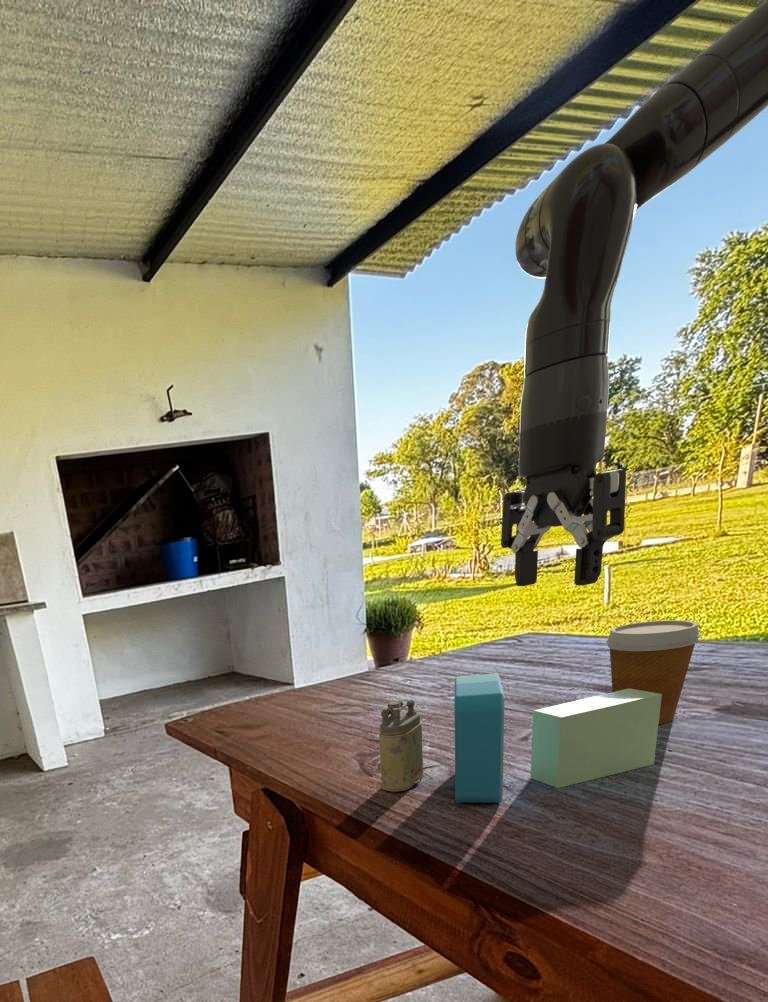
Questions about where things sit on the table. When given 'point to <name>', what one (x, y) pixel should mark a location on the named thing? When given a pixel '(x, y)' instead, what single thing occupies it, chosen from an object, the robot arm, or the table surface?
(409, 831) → the table surface
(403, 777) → the lighter
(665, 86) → the robot arm
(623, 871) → the table surface
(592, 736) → the tissue box
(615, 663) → the disposable coffee cup
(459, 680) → the data package
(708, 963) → the table surface
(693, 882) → the table surface
